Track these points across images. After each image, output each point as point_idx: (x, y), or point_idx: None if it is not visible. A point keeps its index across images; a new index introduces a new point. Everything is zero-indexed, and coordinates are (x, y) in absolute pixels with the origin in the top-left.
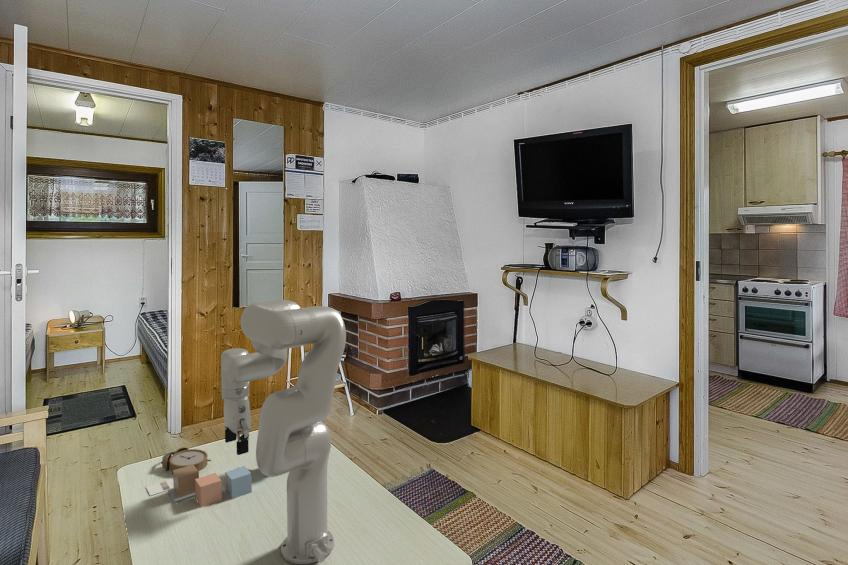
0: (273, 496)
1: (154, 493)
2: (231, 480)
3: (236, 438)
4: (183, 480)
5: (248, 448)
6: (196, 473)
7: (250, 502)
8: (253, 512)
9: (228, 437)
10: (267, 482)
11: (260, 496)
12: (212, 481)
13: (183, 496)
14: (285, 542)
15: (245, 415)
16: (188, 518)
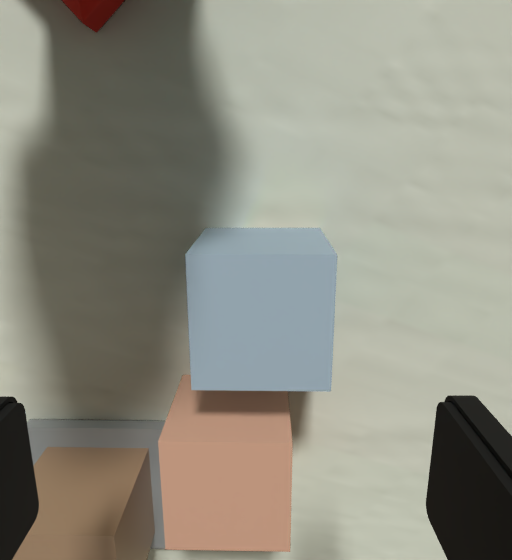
0: (458, 141)
1: None
2: (322, 387)
3: (2, 400)
4: None
5: (493, 416)
6: (117, 542)
7: (418, 272)
8: None
9: (2, 539)
10: (272, 101)
11: (400, 204)
12: (268, 486)
13: (154, 513)
14: None
15: None
16: (340, 526)
